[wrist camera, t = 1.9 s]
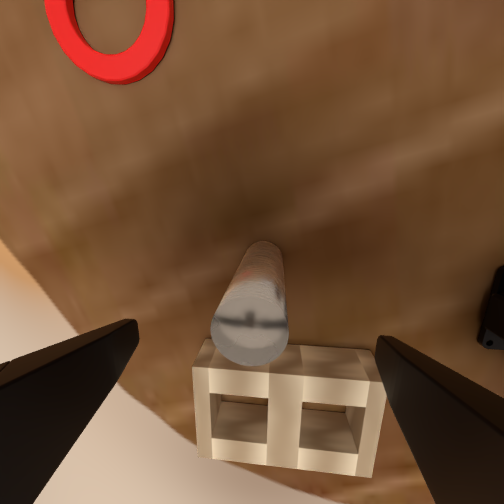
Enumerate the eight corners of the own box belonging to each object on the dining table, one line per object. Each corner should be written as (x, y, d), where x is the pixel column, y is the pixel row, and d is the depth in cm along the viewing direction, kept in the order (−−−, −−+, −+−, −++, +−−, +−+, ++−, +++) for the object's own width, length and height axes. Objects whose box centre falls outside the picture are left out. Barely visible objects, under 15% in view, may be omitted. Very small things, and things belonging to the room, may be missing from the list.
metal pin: (283, 241, 18) (290, 298, 8) (281, 278, 19) (286, 369, 9) (244, 240, 18) (208, 294, 9) (244, 276, 19) (211, 363, 10)
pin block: (369, 349, 20) (388, 382, 16) (356, 433, 22) (371, 477, 19) (205, 338, 21) (192, 366, 18) (209, 418, 23) (198, 456, 20)
